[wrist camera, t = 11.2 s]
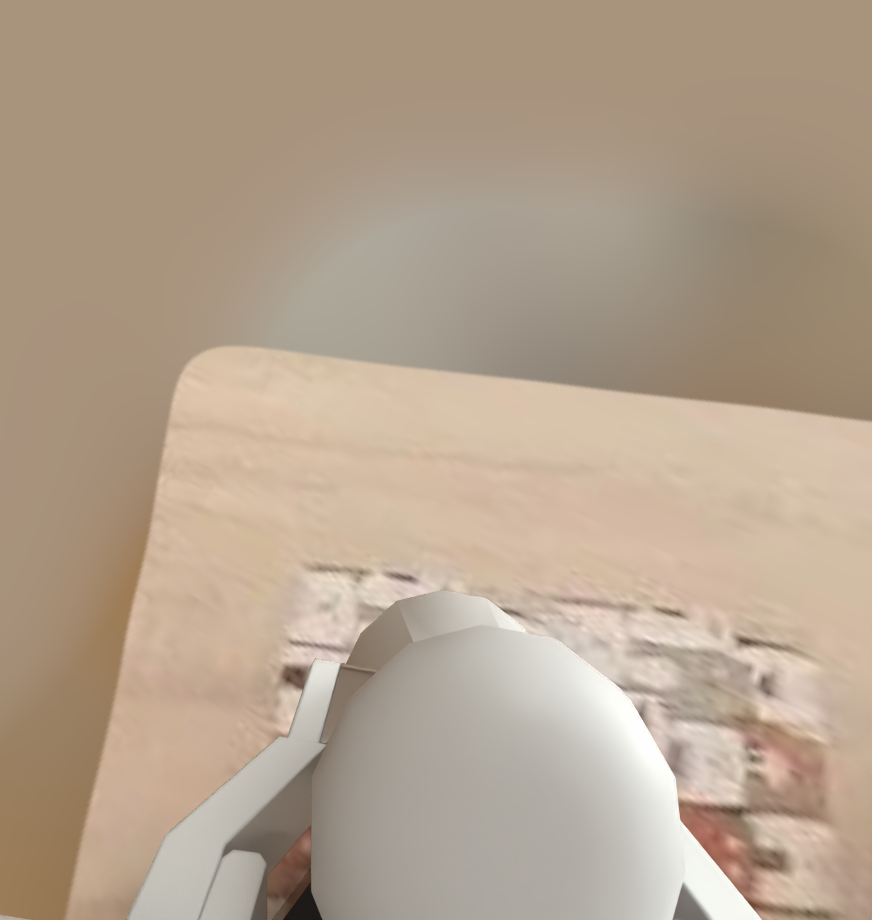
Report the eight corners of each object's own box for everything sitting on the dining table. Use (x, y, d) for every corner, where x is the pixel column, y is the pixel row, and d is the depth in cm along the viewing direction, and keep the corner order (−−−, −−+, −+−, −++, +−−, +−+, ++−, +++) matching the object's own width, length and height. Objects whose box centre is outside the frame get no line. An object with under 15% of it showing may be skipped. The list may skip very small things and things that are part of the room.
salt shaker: (309, 708, 18) (77, 922, 6) (422, 558, 19) (440, 457, 7) (462, 834, 17) (592, 1406, 5) (568, 670, 19) (889, 784, 6)
